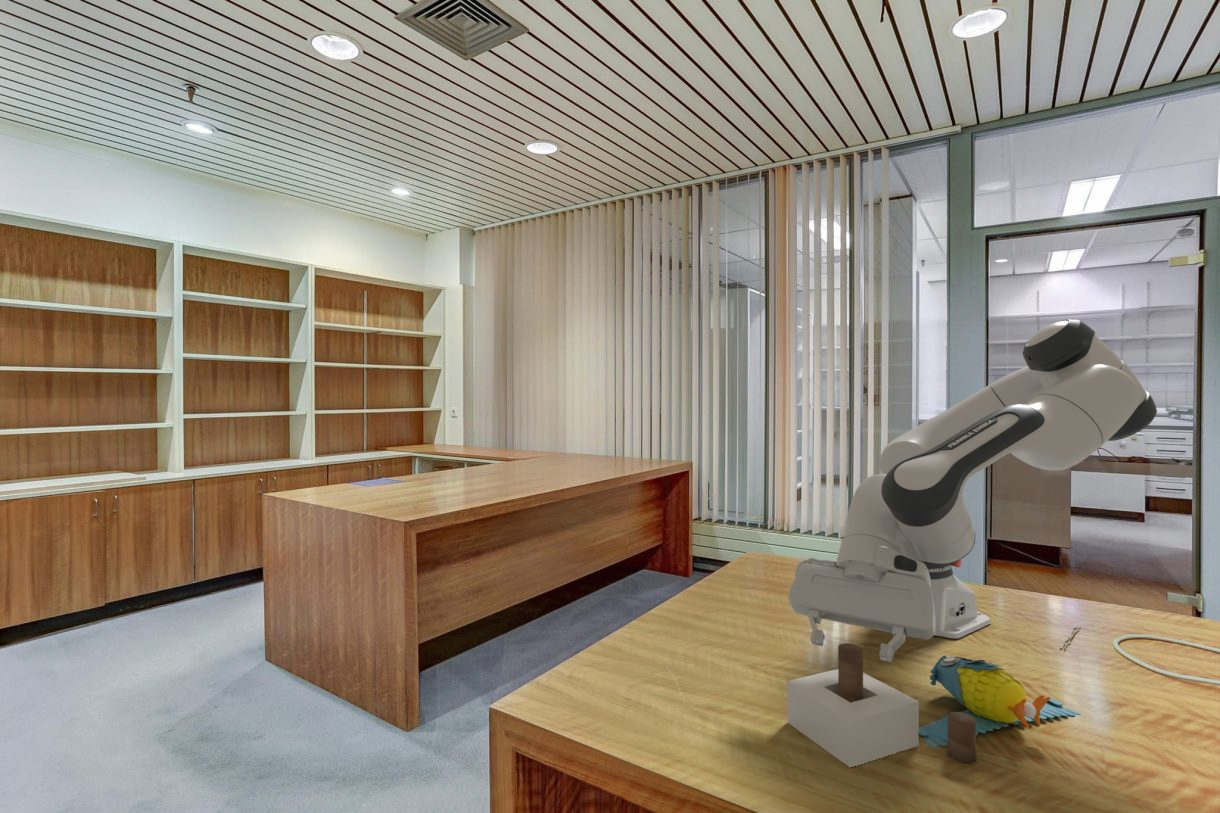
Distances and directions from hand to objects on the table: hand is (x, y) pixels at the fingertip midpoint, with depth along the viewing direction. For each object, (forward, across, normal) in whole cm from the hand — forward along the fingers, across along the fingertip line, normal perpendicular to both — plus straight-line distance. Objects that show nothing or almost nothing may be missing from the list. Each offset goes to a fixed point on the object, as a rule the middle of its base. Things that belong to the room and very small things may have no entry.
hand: (849, 651), depth 87 cm
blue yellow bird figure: (-2, +15, +18) cm, 24 cm away
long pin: (+9, +1, +6) cm, 11 cm away
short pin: (+7, +14, +8) cm, 17 cm away
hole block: (+9, +1, +6) cm, 11 cm away
